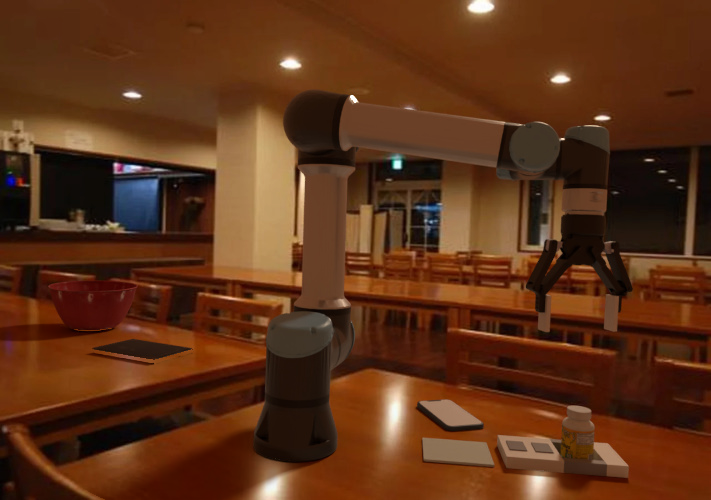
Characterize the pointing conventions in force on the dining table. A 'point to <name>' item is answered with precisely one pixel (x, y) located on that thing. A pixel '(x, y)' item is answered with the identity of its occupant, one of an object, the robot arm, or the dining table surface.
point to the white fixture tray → (558, 457)
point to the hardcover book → (142, 349)
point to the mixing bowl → (92, 303)
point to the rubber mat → (456, 452)
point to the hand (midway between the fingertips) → (577, 330)
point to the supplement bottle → (577, 434)
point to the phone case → (449, 415)
